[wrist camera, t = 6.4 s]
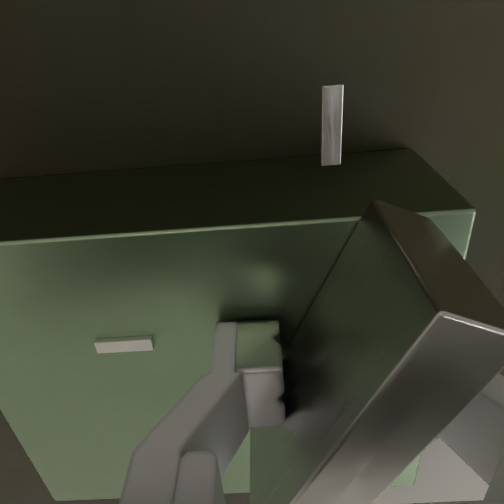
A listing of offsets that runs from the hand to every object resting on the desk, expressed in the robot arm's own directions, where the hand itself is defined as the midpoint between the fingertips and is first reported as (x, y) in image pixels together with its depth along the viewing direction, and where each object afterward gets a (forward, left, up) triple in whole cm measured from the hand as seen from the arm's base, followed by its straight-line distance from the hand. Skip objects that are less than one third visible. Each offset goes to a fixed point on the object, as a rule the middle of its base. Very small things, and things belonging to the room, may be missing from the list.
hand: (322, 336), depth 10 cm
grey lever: (0, 0, 0) cm, 0 cm away
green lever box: (+2, +1, -4) cm, 4 cm away
